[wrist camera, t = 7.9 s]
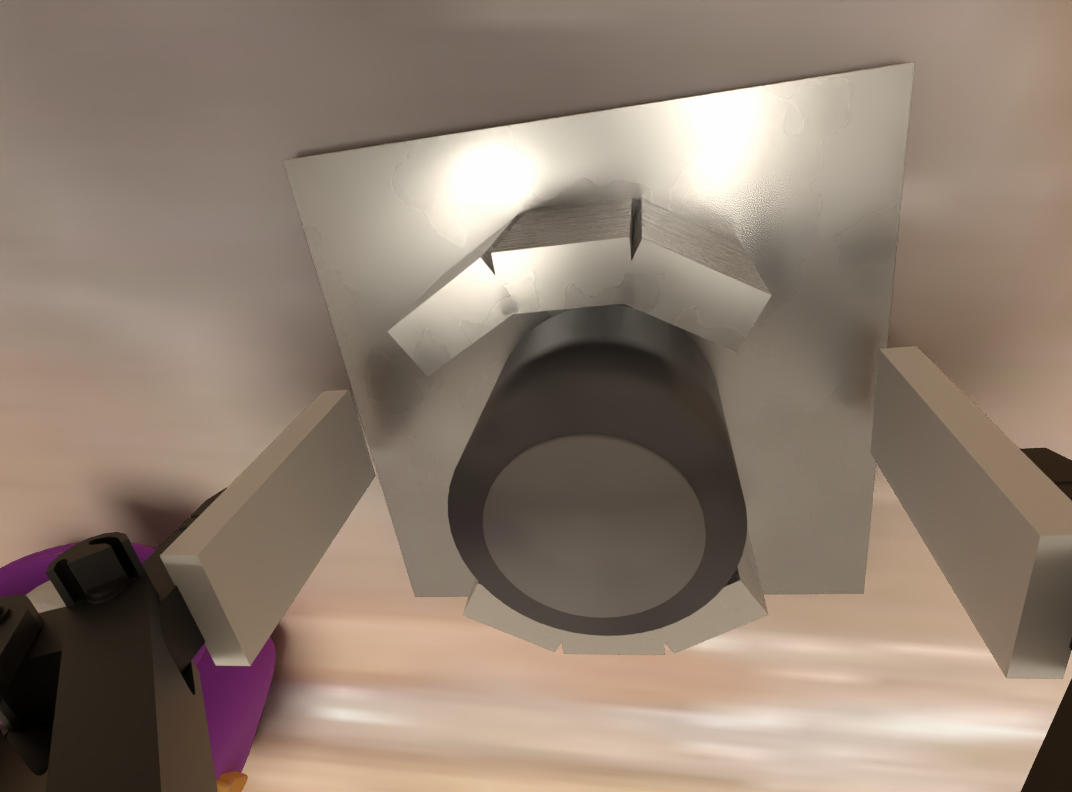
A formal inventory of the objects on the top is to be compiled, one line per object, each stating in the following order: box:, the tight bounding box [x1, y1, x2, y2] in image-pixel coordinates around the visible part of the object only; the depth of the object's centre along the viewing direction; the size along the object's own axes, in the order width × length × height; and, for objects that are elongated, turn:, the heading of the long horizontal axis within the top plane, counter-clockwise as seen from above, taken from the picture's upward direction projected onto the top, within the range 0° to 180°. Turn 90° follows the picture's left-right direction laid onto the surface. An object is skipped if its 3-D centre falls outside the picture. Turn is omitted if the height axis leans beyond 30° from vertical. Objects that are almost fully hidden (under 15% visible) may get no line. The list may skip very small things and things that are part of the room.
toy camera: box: [0, 543, 276, 792], centre depth 21 cm, size 11×14×10 cm
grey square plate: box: [283, 62, 914, 655], centre depth 16 cm, size 14×14×5 cm
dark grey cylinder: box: [448, 305, 748, 636], centre depth 15 cm, size 6×6×5 cm
